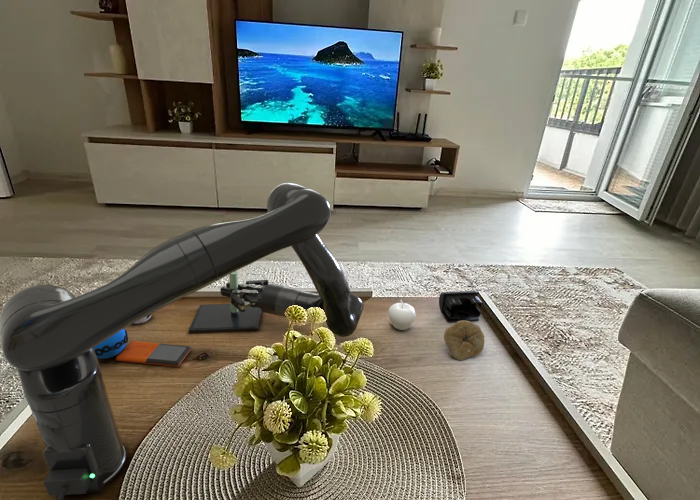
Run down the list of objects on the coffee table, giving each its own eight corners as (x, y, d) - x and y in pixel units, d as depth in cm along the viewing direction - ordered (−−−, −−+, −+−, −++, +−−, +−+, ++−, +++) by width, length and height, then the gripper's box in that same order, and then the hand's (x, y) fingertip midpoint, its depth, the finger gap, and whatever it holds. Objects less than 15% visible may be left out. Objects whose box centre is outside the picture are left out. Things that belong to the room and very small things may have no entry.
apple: (393, 315, 110) (395, 290, 106) (417, 323, 107) (420, 297, 103) (383, 328, 104) (385, 302, 101) (408, 337, 101) (411, 310, 98)
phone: (131, 339, 95) (191, 345, 94) (133, 344, 96) (192, 349, 94) (114, 357, 89) (177, 363, 88) (115, 361, 90) (178, 368, 88)
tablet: (257, 331, 102) (257, 327, 101) (189, 333, 100) (188, 329, 100) (262, 305, 113) (262, 302, 112) (201, 307, 111) (200, 304, 111)
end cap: (470, 307, 115) (473, 286, 112) (480, 320, 109) (485, 299, 106) (437, 308, 114) (440, 288, 111) (446, 323, 107) (449, 301, 104)
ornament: (81, 368, 87) (70, 331, 83) (97, 344, 95) (87, 309, 91) (123, 365, 89) (114, 328, 85) (136, 341, 97) (127, 306, 92)
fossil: (439, 328, 95) (474, 314, 97) (434, 332, 99) (468, 318, 101) (456, 364, 92) (492, 348, 94) (450, 366, 96) (485, 351, 98)
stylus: (237, 316, 106) (236, 274, 100) (230, 316, 105) (228, 274, 100) (239, 312, 107) (238, 270, 102) (231, 312, 107) (230, 270, 102)
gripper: (295, 275, 104) (237, 264, 108) (269, 302, 92) (205, 288, 96) (295, 300, 107) (239, 288, 112) (271, 328, 95) (209, 314, 100)
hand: (224, 288), depth 104 cm, fingers closed on stylus, 2 cm apart
